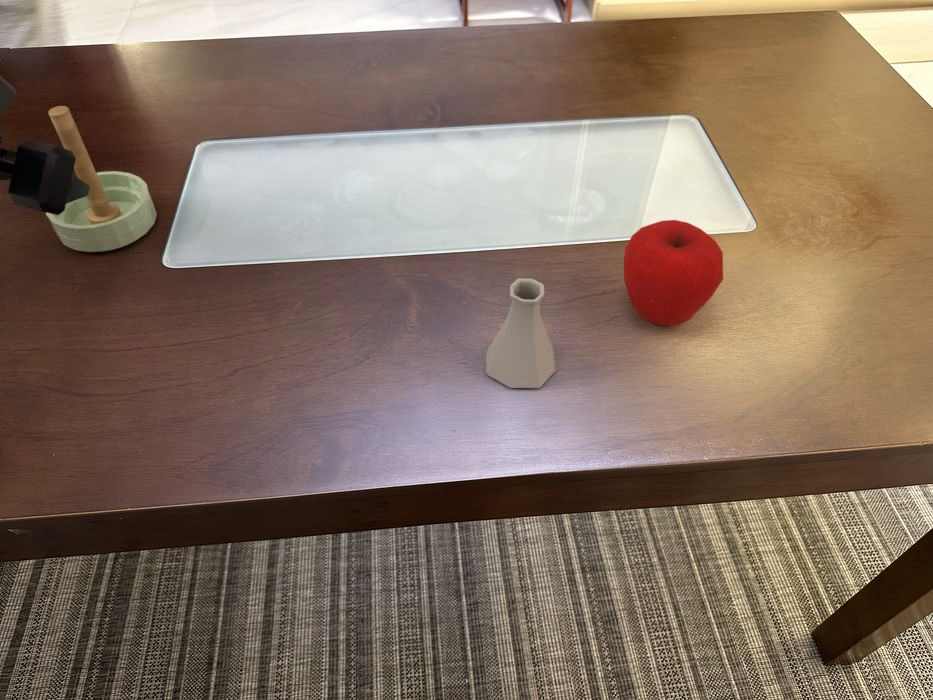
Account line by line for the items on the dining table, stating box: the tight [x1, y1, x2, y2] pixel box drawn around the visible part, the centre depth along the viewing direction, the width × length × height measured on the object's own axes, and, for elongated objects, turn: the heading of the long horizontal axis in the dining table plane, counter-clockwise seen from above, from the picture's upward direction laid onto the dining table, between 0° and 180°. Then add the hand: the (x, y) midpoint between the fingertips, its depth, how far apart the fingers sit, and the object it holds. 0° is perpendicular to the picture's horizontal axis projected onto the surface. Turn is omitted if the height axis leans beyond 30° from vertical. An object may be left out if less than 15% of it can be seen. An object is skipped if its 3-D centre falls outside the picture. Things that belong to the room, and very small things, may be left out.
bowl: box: [45, 170, 158, 253], centre depth 85 cm, size 11×11×4 cm
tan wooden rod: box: [47, 105, 122, 225], centre depth 81 cm, size 4×4×14 cm
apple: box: [623, 219, 724, 326], centre depth 73 cm, size 10×10×11 cm
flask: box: [485, 277, 556, 389], centre depth 69 cm, size 7×7×10 cm
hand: (52, 181), depth 77 cm, fingers open, 9 cm apart
